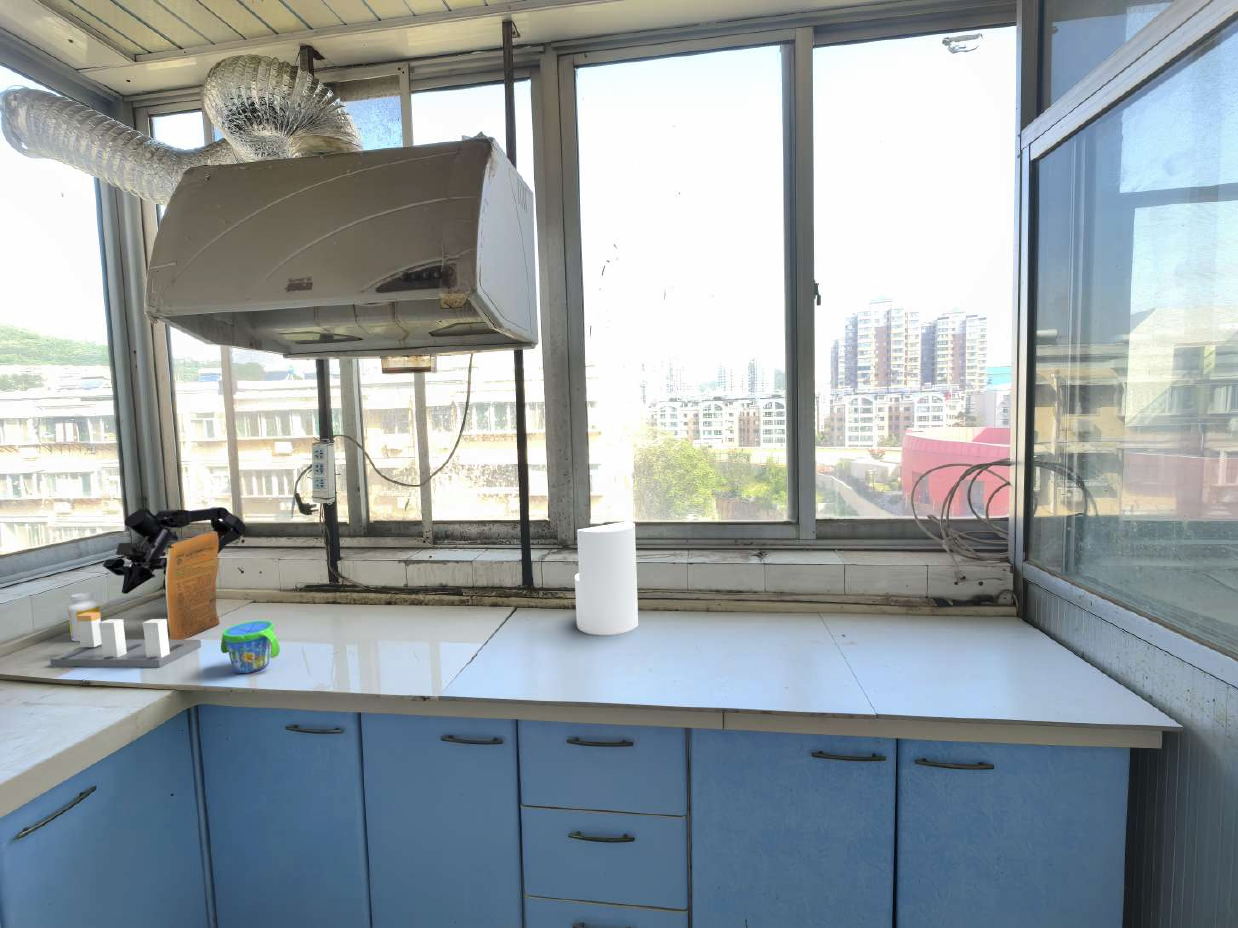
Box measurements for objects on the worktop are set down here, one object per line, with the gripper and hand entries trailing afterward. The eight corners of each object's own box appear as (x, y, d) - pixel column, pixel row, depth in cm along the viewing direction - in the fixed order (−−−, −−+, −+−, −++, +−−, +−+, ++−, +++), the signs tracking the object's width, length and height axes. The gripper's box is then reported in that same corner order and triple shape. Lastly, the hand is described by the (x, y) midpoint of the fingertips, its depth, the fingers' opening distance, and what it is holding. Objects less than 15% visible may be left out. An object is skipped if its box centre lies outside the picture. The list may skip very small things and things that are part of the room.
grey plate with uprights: (100, 646, 164) (95, 607, 163) (201, 646, 161) (197, 607, 160) (50, 666, 151) (45, 624, 150) (159, 667, 148) (155, 624, 147)
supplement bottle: (108, 633, 174) (103, 590, 173) (86, 642, 168) (80, 597, 166) (87, 633, 175) (82, 590, 174) (64, 642, 168) (59, 597, 167)
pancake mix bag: (235, 620, 182) (226, 529, 180) (179, 644, 163) (168, 544, 161) (216, 619, 183) (207, 529, 181) (158, 643, 165) (147, 543, 162)
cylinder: (650, 624, 165) (647, 525, 163) (598, 640, 156) (594, 534, 153) (615, 609, 180) (612, 517, 177) (565, 622, 170) (561, 525, 167)
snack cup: (294, 663, 148) (290, 623, 147) (254, 681, 138) (250, 639, 137) (249, 655, 154) (246, 617, 153) (208, 672, 144) (204, 632, 143)
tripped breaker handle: (89, 643, 160) (86, 612, 159) (103, 643, 159) (100, 612, 158) (80, 647, 157) (76, 615, 156) (94, 647, 157) (90, 615, 156)
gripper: (105, 531, 172) (71, 579, 162) (164, 530, 171) (133, 578, 161) (132, 551, 181) (102, 598, 171) (189, 550, 179) (162, 598, 169)
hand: (124, 593), depth 168 cm, fingers closed
